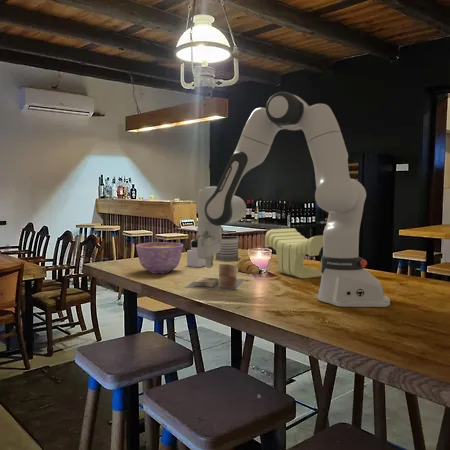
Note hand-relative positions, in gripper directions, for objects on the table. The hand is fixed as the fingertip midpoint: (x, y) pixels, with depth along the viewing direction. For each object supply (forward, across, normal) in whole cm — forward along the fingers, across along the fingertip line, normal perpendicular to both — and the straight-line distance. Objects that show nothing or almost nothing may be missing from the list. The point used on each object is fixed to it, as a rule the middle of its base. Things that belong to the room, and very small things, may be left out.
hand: (209, 267), depth 173 cm
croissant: (+7, +31, -9) cm, 33 cm away
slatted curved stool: (+7, +28, -32) cm, 43 cm away
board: (+6, -2, -3) cm, 7 cm away
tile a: (+5, 0, 0) cm, 5 cm away
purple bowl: (+6, +20, +27) cm, 34 cm away
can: (+6, +61, +8) cm, 61 cm away
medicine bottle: (+6, +38, +16) cm, 42 cm away
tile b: (+6, -6, -8) cm, 12 cm away
